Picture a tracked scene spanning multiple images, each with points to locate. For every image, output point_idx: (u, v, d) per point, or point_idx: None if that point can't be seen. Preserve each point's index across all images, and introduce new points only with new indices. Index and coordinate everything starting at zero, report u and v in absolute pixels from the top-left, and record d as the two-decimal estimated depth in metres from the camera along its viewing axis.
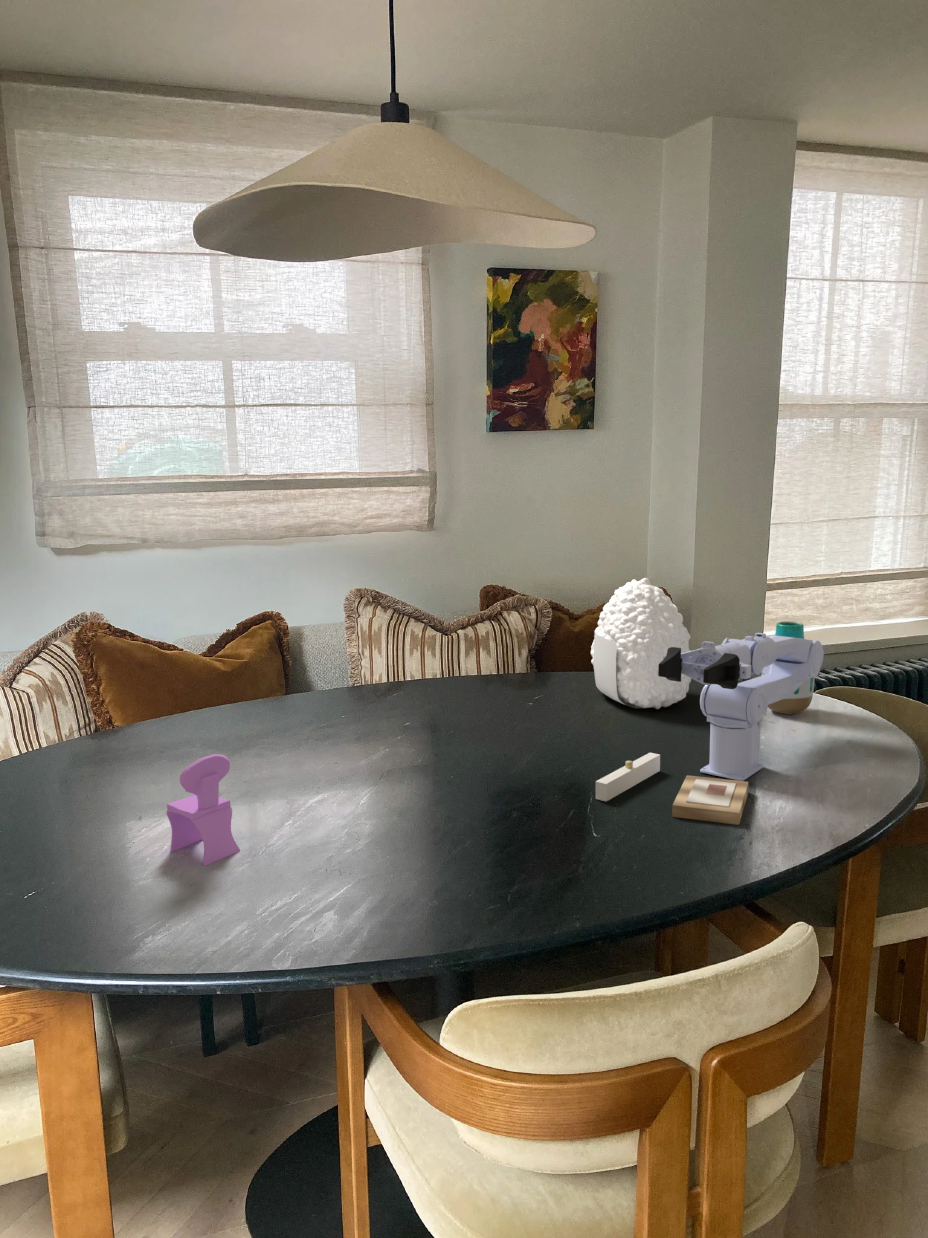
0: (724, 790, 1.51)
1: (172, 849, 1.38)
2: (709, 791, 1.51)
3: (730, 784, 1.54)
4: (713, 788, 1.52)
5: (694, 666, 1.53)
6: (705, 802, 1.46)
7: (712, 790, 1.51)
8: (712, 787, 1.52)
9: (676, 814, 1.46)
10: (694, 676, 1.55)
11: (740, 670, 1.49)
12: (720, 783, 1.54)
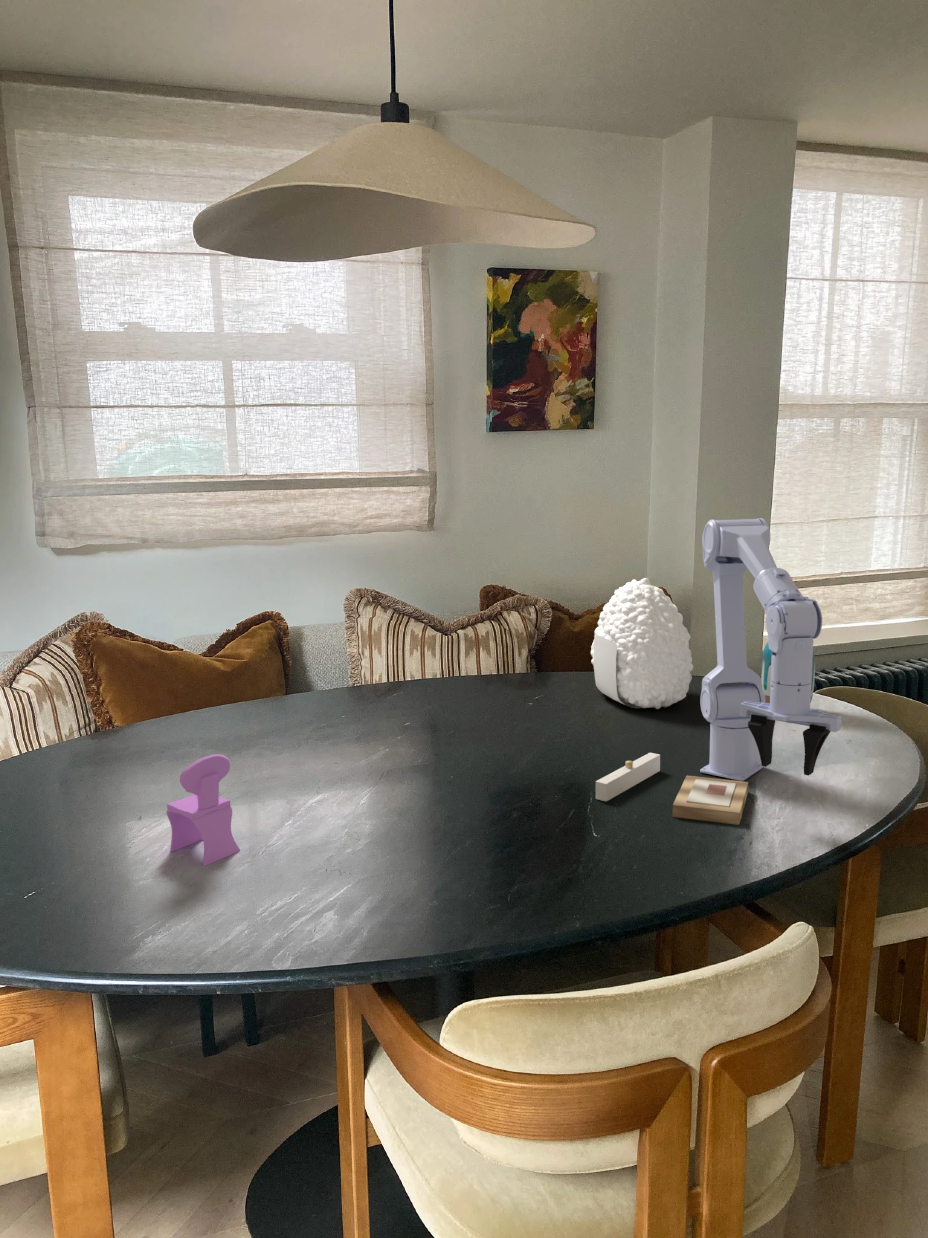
0: (724, 790, 1.51)
1: (172, 849, 1.38)
2: (709, 791, 1.51)
3: (730, 784, 1.54)
4: (713, 788, 1.52)
5: (779, 720, 1.41)
6: (705, 802, 1.46)
7: (713, 790, 1.51)
8: (712, 787, 1.52)
9: (676, 814, 1.46)
10: None
11: None
12: (720, 783, 1.54)
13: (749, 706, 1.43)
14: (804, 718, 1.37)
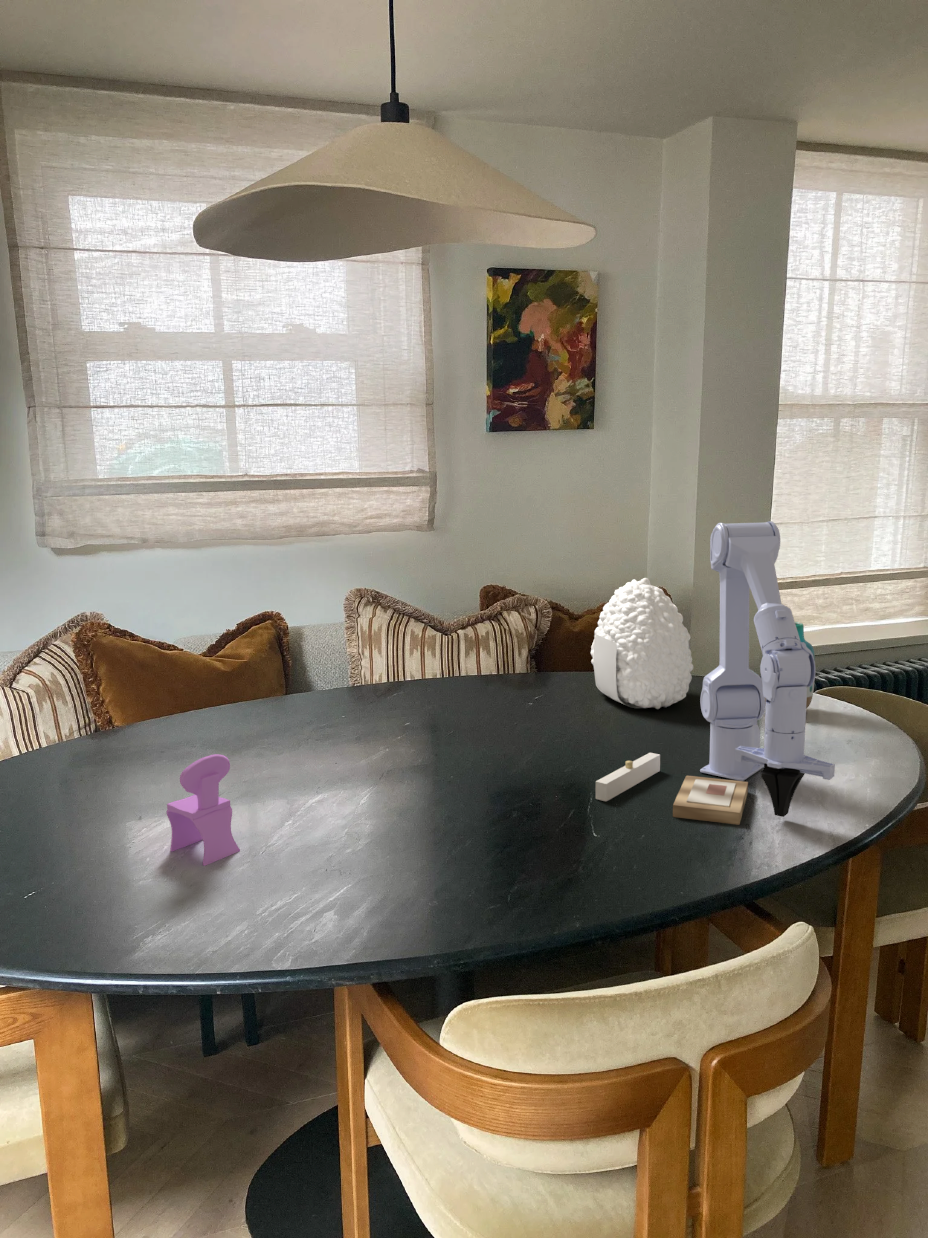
0: (724, 790, 1.51)
1: (172, 849, 1.38)
2: (709, 791, 1.51)
3: (729, 784, 1.54)
4: (713, 788, 1.52)
5: None
6: (705, 802, 1.46)
7: (713, 790, 1.51)
8: (712, 787, 1.52)
9: (677, 814, 1.46)
10: None
11: None
12: (720, 783, 1.54)
13: (744, 752, 1.44)
14: (798, 765, 1.38)
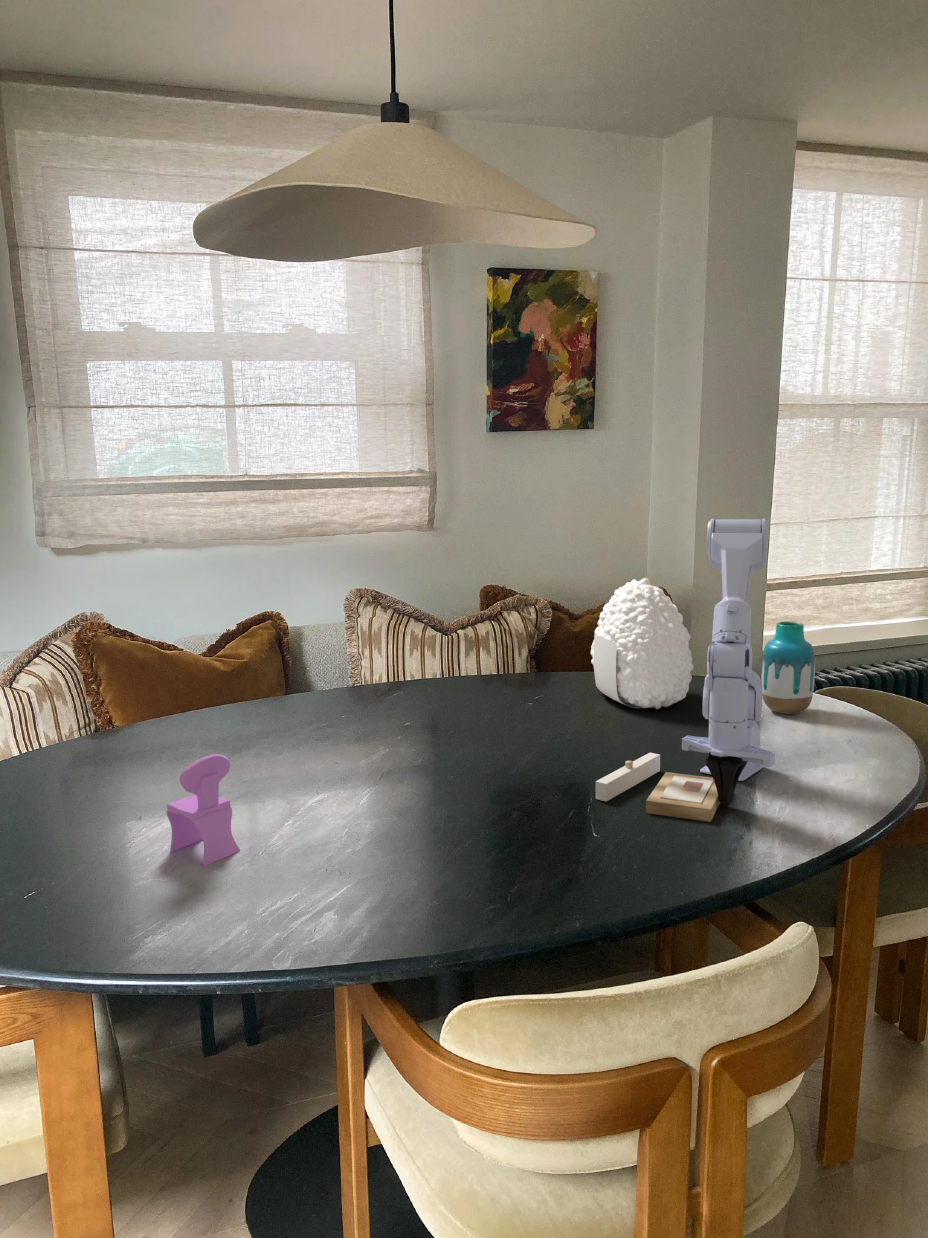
0: (700, 787, 1.52)
1: (172, 849, 1.38)
2: (685, 788, 1.52)
3: (707, 781, 1.55)
4: (689, 785, 1.53)
5: None
6: (679, 798, 1.48)
7: (688, 786, 1.53)
8: (688, 784, 1.54)
9: (650, 809, 1.48)
10: None
11: None
12: (697, 780, 1.55)
13: (690, 741, 1.50)
14: (739, 754, 1.44)
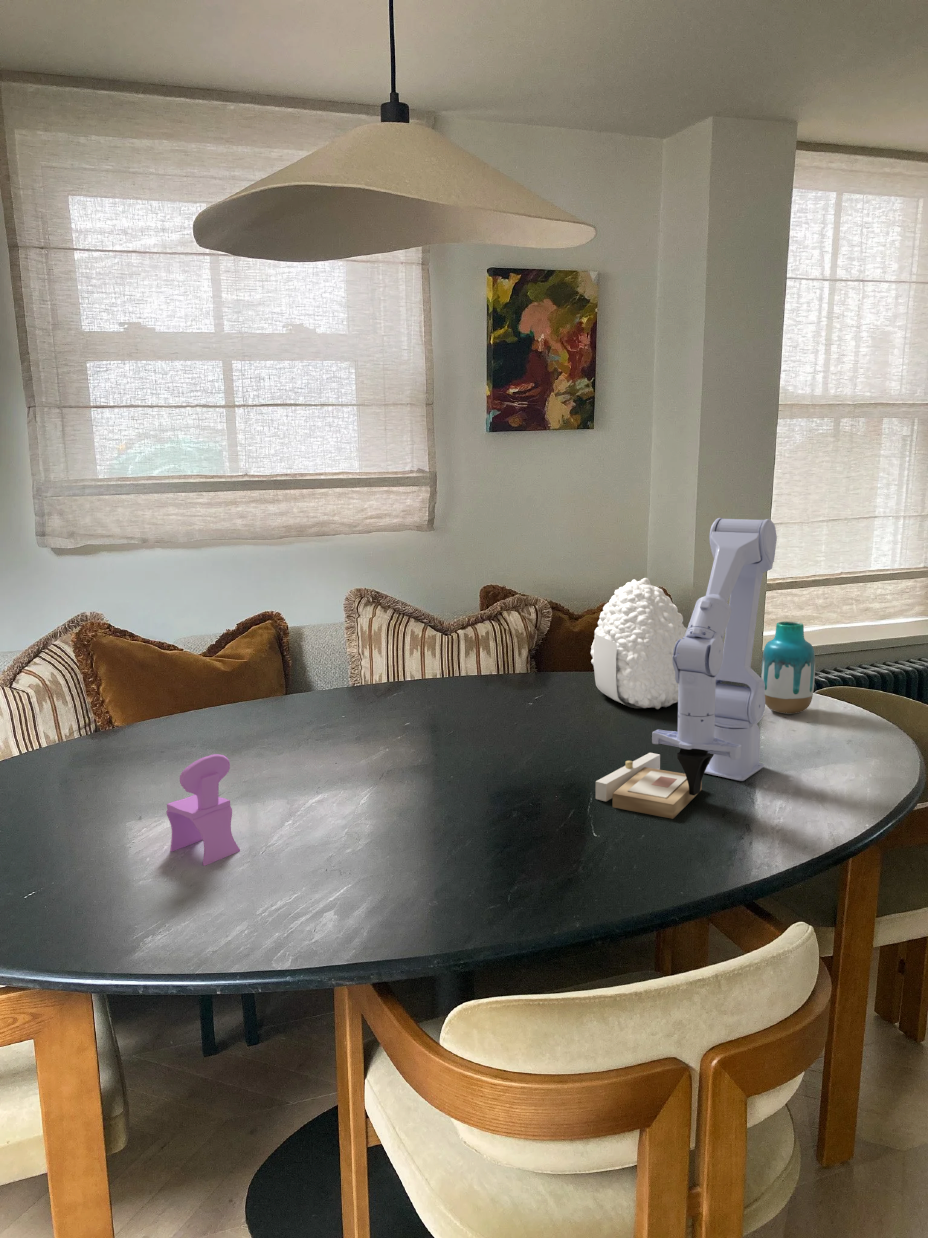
0: (671, 783, 1.53)
1: (172, 849, 1.38)
2: (656, 783, 1.54)
3: (681, 777, 1.56)
4: (662, 780, 1.55)
5: None
6: (645, 792, 1.50)
7: (660, 782, 1.54)
8: (661, 779, 1.55)
9: (616, 802, 1.50)
10: None
11: None
12: (672, 776, 1.57)
13: (659, 734, 1.53)
14: (707, 747, 1.47)
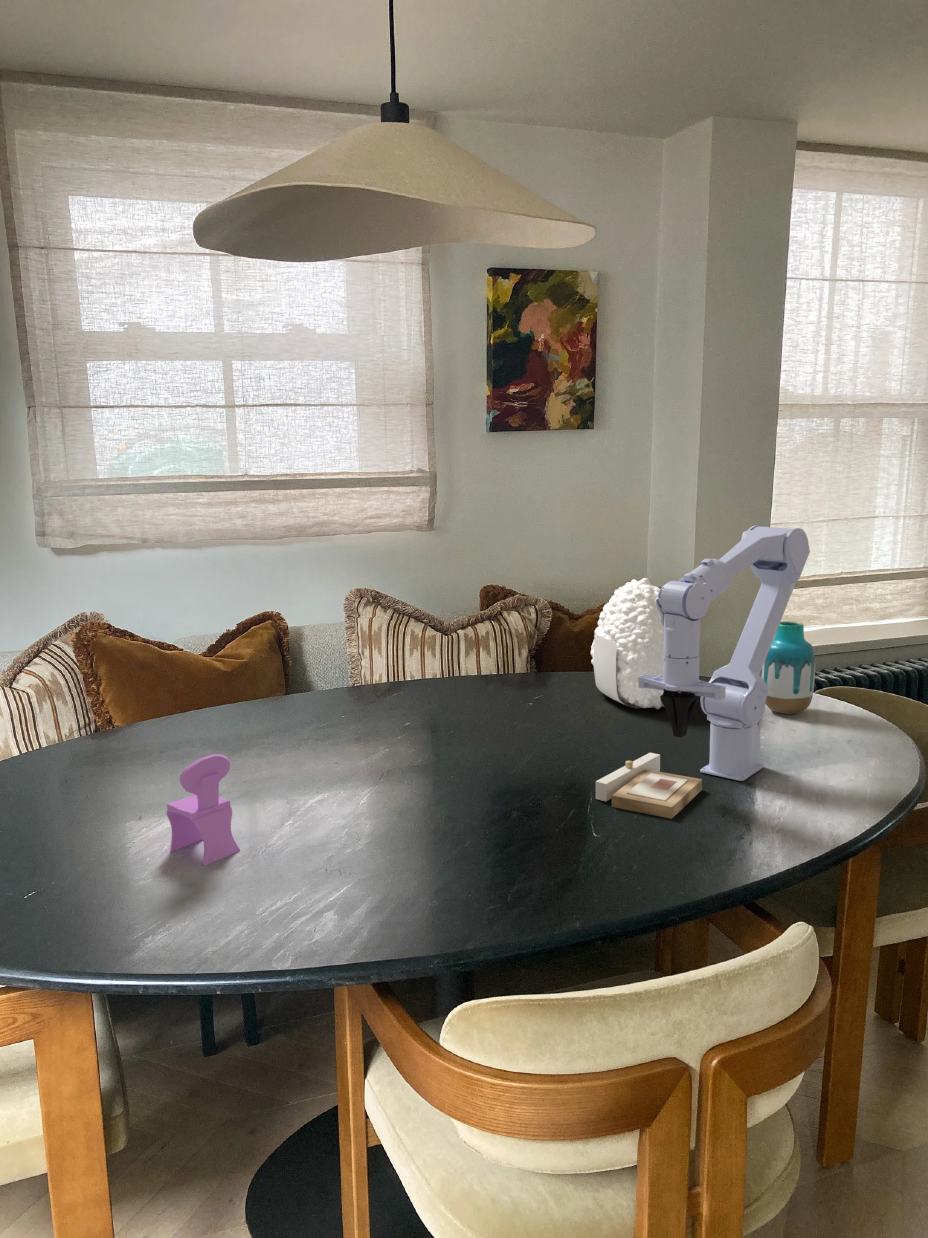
0: (671, 785, 1.54)
1: (172, 849, 1.38)
2: (655, 785, 1.54)
3: (681, 780, 1.56)
4: (661, 782, 1.55)
5: None
6: (644, 795, 1.50)
7: (660, 784, 1.54)
8: (661, 781, 1.55)
9: (615, 804, 1.50)
10: None
11: None
12: (672, 778, 1.57)
13: (645, 679, 1.57)
14: (692, 688, 1.51)
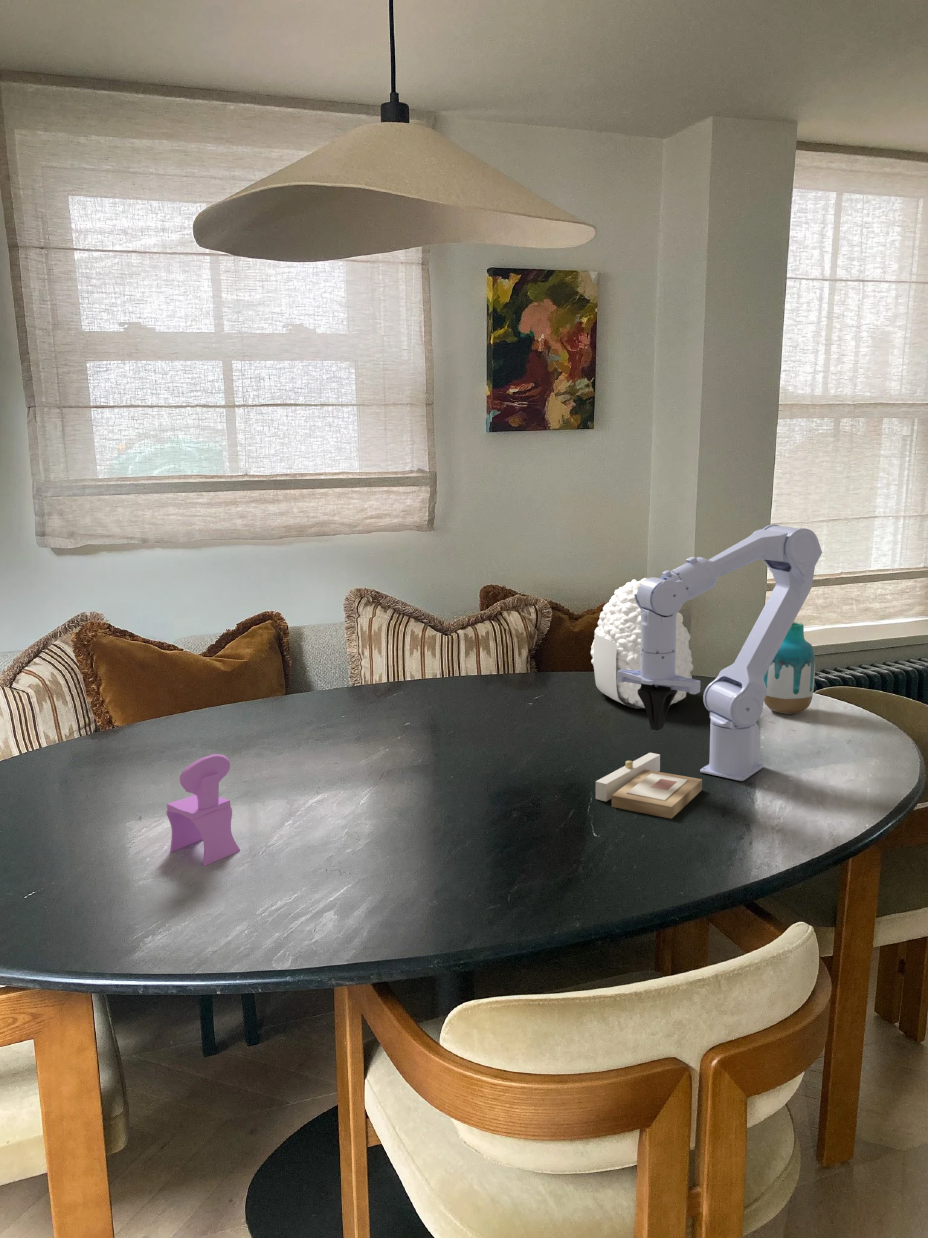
0: (671, 785, 1.54)
1: (172, 849, 1.38)
2: (655, 785, 1.54)
3: (681, 780, 1.56)
4: (661, 782, 1.55)
5: None
6: (644, 795, 1.50)
7: (660, 784, 1.54)
8: (661, 782, 1.55)
9: (615, 804, 1.50)
10: None
11: None
12: (672, 778, 1.57)
13: (624, 673, 1.61)
14: (667, 682, 1.55)
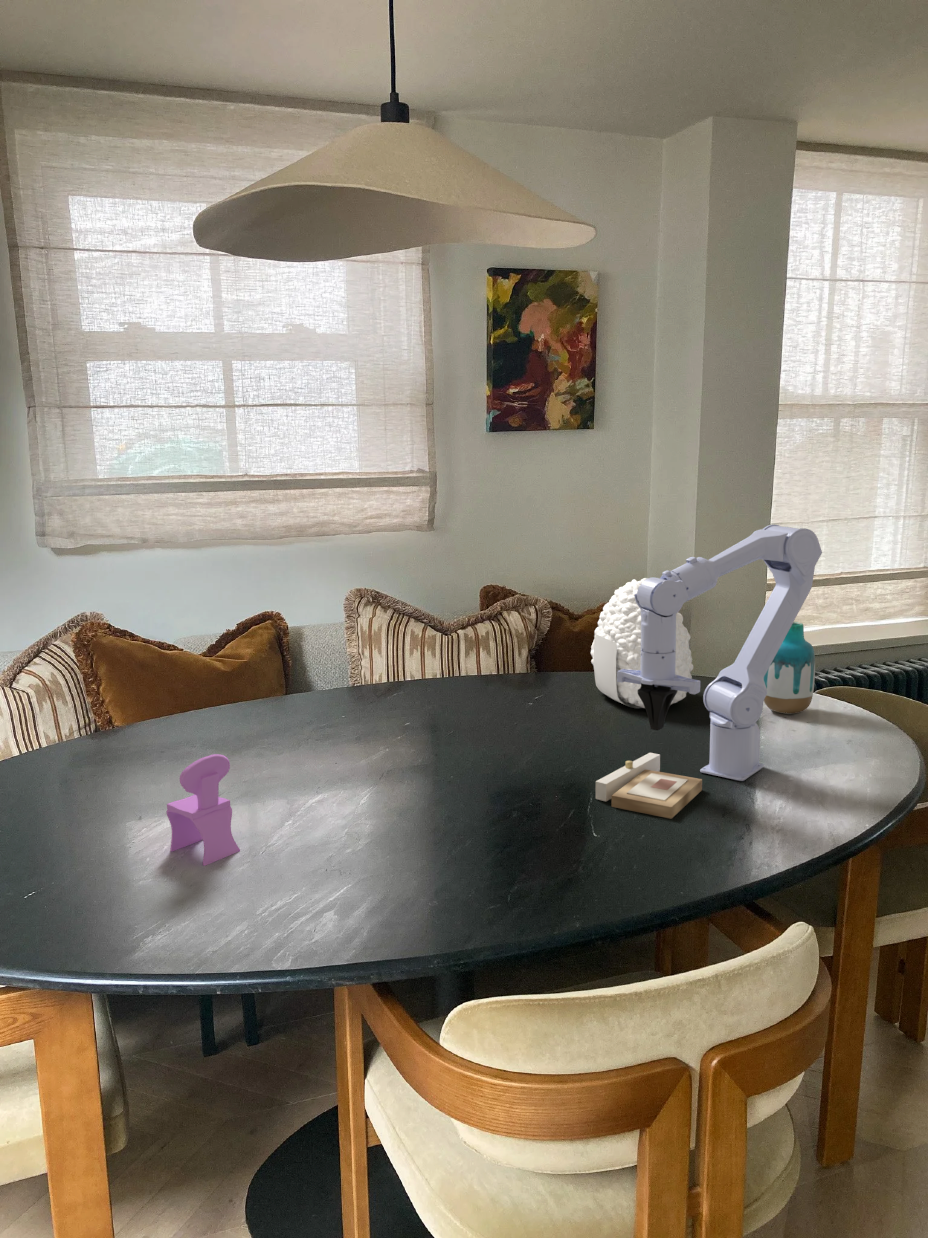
0: (671, 785, 1.54)
1: (172, 849, 1.38)
2: (655, 785, 1.54)
3: (681, 780, 1.56)
4: (661, 782, 1.55)
5: None
6: (644, 795, 1.50)
7: (660, 784, 1.54)
8: (661, 782, 1.55)
9: (615, 804, 1.50)
10: None
11: None
12: (672, 778, 1.57)
13: (624, 673, 1.61)
14: (667, 682, 1.55)
